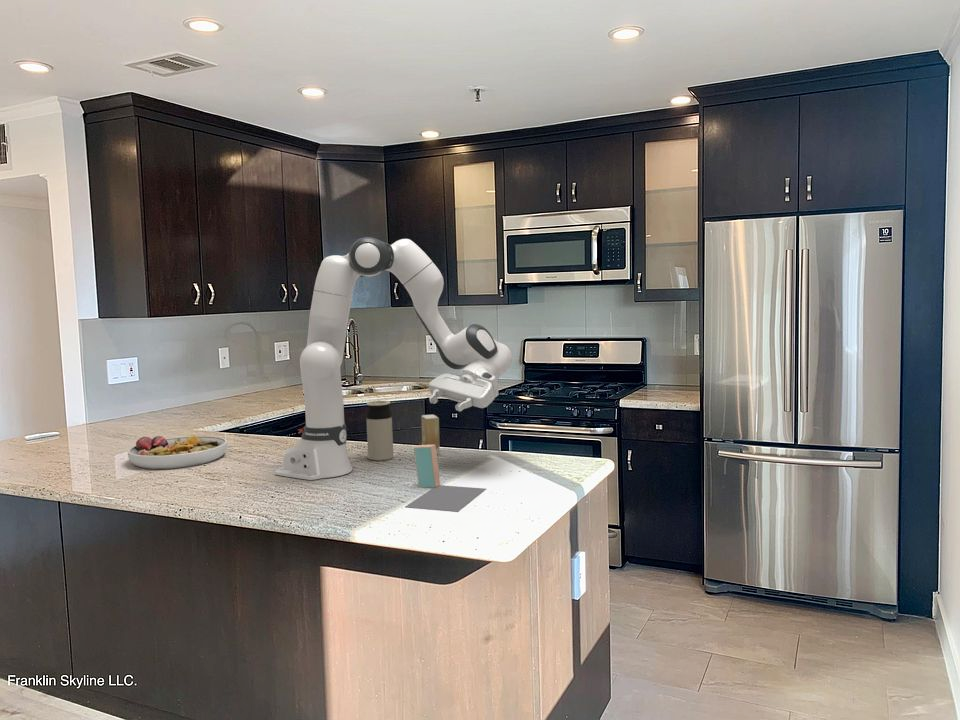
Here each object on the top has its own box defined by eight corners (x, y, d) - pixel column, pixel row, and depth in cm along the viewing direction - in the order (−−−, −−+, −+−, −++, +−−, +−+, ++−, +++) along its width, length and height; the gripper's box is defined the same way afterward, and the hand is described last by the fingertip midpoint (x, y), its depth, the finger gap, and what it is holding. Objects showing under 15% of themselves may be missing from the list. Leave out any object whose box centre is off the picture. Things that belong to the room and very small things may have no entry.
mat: (404, 508, 172) (404, 506, 172) (437, 486, 191) (437, 485, 191) (458, 513, 168) (458, 511, 168) (486, 490, 186) (486, 488, 186)
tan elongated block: (418, 487, 190) (413, 447, 190) (423, 484, 193) (418, 445, 192) (435, 487, 189) (430, 446, 188) (440, 484, 191) (435, 444, 191)
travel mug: (391, 460, 222) (389, 403, 220) (366, 461, 222) (363, 404, 221) (395, 454, 230) (392, 399, 228) (370, 455, 230) (368, 400, 228)
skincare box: (421, 452, 233) (420, 415, 232) (434, 450, 235) (433, 414, 234) (427, 456, 227) (426, 418, 226) (440, 454, 229) (439, 417, 228)
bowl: (243, 449, 246) (241, 427, 245) (201, 471, 216) (199, 446, 216) (161, 450, 249) (159, 428, 248) (108, 472, 219) (106, 447, 219)
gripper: (444, 364, 212) (414, 387, 203) (499, 378, 200) (470, 403, 191) (448, 382, 215) (418, 406, 206) (503, 396, 203) (474, 422, 194)
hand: (444, 405), depth 198 cm, fingers open, 8 cm apart
